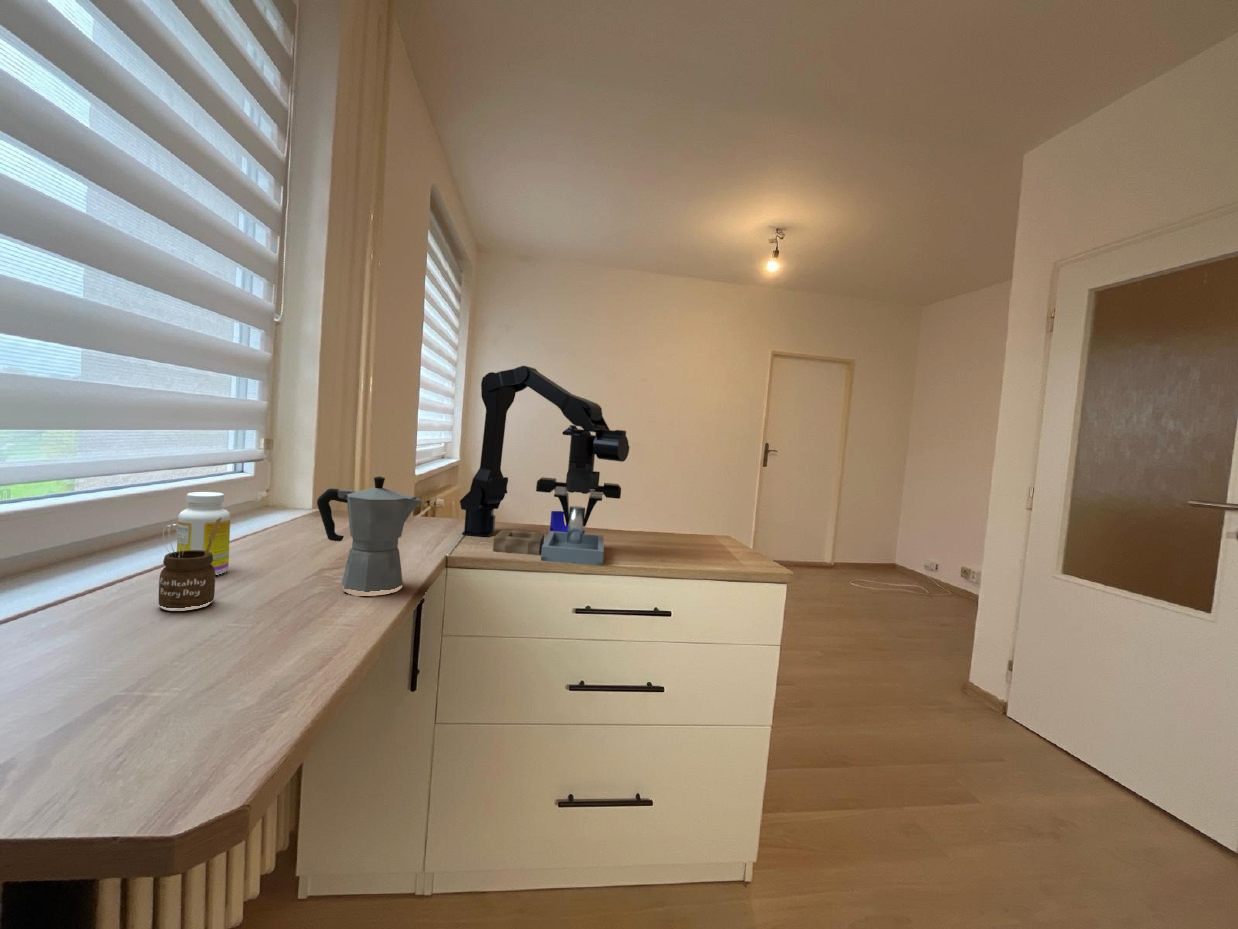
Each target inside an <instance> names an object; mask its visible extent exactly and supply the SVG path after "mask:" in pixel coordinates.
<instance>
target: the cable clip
mask: <svg viewBox="0 0 1238 929" xmlns="http://www.w3.org/2000/svg"><path fill="white" fill-rule="evenodd" d="M549 524H550V525H549V532H550V531H558V532H568V525H566V522H565V516H564V512H563V510H551V513H550V523H549ZM585 532H586V531H585V530H584V529H583V534H586V533H585Z"/></svg>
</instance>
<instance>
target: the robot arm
mask: <svg viewBox="0 0 1238 929" xmlns="http://www.w3.org/2000/svg"><path fill="white" fill-rule="evenodd" d="M480 384H481V385H480V387H481V388H480V390H481V395H480V396H481V399H482V401H483V405H484V407H485V418H484V426H483V427H484V429H483V436H482V446H481V456H480V463H479V464H480V465H479V469H477V472H476V473H475V475H474V476H473V478H472V480H471V484H470V489H469V491H468V492H467V493H466V494H465V495H464V496H463V497H462V498H461V499H460V500H459V503H460V504H459V505H460V509H461V510H464V511H465V515H464V516H465V517H464V518H465V519H464V530H463V531H462V532H461V533H462V534H461V535H464V536H474V537H475V536H477V537H488V538H489V537H490V536H491V535H492V534H493V533H494V532H495V527H496V515H494V510H498V509H499V508H500V504H501V502H502V501H503V500H504V499H505V496H506V494H508V483H509V477H508V476H507V477H506V476H505V477H504V475H503V473H502V469H501V468H502V467H501V466H502V459H503V448H504V442H505V441H504V440H505V430H506V422H507V413H508V411H509V409H510V408H511V406H512V404H513V403H514V400H515V398H516V393H518V392H522V391H524V390H525V389H527V388H530V389H531V390H533V391H534V392H536V393H537V394H538V395H540V396H541V397H543V398H545V399H546V400H547V401H548V402H550V403H552V404H553V405H555V406H556V407H557V408H558V409H559V410H560V411H561V413H562V414H563V416H564V417H565V418H566V419H567V420H568V421H569V422H570V423H571V424H570V425H569V426H568V427H567V428H566V429H565V430H563V431H562V435H563V436H570V443H569V454H568V468H567V473H566V479H565V482H563V481H562V482H561V481H557V478H554V477H553V478H552V477H545V476H543V477H541V478H539V479H538V480H536V487H535V491H536V492H538V493H549V494H550V493H551V492H552V491H554V494H553V497H554V498H558V500H559V501H560V506H561V508H562V511H563V512H564V522H565V526H566V525H568V523H569V510H570V503H569V502H570V501H569V500H570V499H569V495H570V494H571V493H572V494H573V493H578V494H579V493H581V494H582V495H586V494H589V495H588V496H589V497H588V502H587V506H586V508H585V517H584V527H586V526H587V523H588V521H589V518H590V516H591V514H592V511H593V509H594V508H595V506H596V504H597V503H598V502H602V501H603V496H604V497H605V498H607V499H618V500H619V499H621V496H622V495H621V494H622V487H621V486H620V484H619V483H611V482H609V483H608V482H603V485H600V474H601V472H600V471H594V469H595V468H594V467H595V457H596V458H597V459H599V460H605V461H612V462H614V461H615V462H621V463H622V462H625V461H626V460H627V458H628V456H629V452H630V445H629V440H628V437H627V431H626V430H623V429H615V430H613V429H612V430H610V428H609V426H608V424H607V422H606V420H605V418H604V417H603V409H602V407H601V405H600V404H598V403H597V402H594V401H593V400H592V401H591V400H590V399H586V398H585V397H584V398H583V397H581V396H578V395H576V394H572V393H571V392H569V391H568V390H567V389H565V388H564V387H562V386H560V385H559V384H557V383H556V382H554V381H553V380H551V379H550V378H548V377H547V376H545V375H543V374H542V373H541V372H539V371H538V370H537V369H536V368H535V367H531V366H527V365H521V366H517V367H515V368H511V369H506V370H501V371H497V372H493V371H492V372H491V371H490V372H488V373H486V374H485V375H484V376H482V378H481V383H480ZM578 427H581V428H582V429H581V428H580V429H579V428H578ZM592 433H595V435H593V434H592ZM569 493H570V494H569Z"/></svg>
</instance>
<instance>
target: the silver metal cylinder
mask: <svg viewBox="0 0 1238 929" xmlns="http://www.w3.org/2000/svg"><path fill="white" fill-rule="evenodd" d="M585 514H586V507H585V506H576V505H574V506H573V505H571V506H570V505H569V523H568V534H567V543H571V544H582V540H583V530H584V518H585Z"/></svg>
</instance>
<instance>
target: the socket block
mask: <svg viewBox="0 0 1238 929" xmlns="http://www.w3.org/2000/svg"><path fill="white" fill-rule="evenodd" d="M544 542H545V532H541V531H539V532H538V531H527V530H526V531H525V530H513V529H501V530H500V531H499V532H498V533H496V535H495V536H494V537H493V544H492V552H500V553H510V554H512V553H513V554H525V555H537V556H538V555H540V554H541V552H542V545H543V544H544Z"/></svg>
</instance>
